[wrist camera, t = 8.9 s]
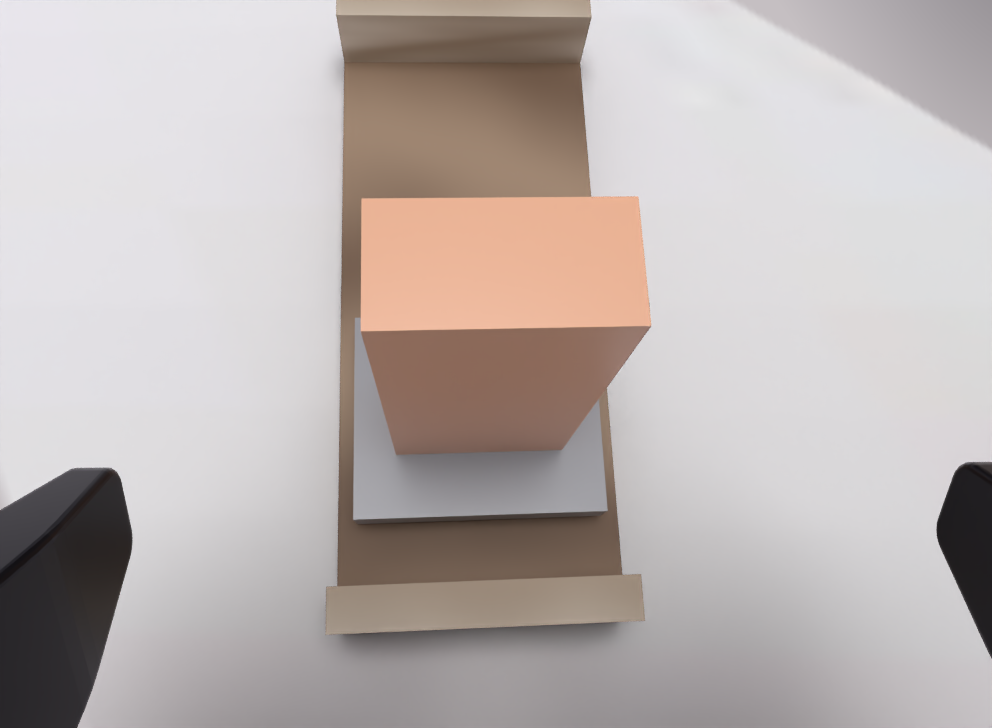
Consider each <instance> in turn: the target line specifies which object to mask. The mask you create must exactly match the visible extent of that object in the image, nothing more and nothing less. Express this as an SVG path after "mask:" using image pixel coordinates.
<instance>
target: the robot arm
mask: <svg viewBox="0 0 992 728" xmlns="http://www.w3.org/2000/svg"><path fill="white" fill-rule="evenodd" d="M936 530H937V538H938V542H939V545H940V548H941V550H942V552H943V554H944V556H945V559H946V561H947V563H948V565H949V567H950V570H951V572H952V574H953V576H954V578H955V580H956V583H957V585H958V587H959V589H960V591H961V594H962V596H963V598H964V600H965V602H966V604H967V607H968V609H969V611H970V613H971V615H972V618H973V620H974V622H975V624H976V626H977V628H978V631H979V633H980V635H981V637H982V639H983V642H984V644H985V646H986V648H987V650H988V652H989V654H990V656H991V658H992V462H967V463H964V464H962V465H961V466H959V467H958V469H957V470H956V471H955V473H954V475H953V478H952V481H951V484H950V486H949V489H948V492H947V495H946V498H945V501H944V503H943V506H942V509H941V512H940V515H939V518H938V521H937V529H936ZM131 550H132V529H131V525H130V520H129V515H128V511H127V506H126V501H125V496H124V492H123V487H122V482H121V479H120V477H119V475H118V473H117V472H116V471H115V470H113V469H112V468H74V469H71V470H69V471H67V472H65V473H64V474H62V475H60V476H58V477H57V478H55V479H53V480H51V481H50V482H48V483H46V484H45V485H43V486H41V487H39V488H38V489H36V490H34V491H32V492H31V493H29V494H27V495H26V496H24V497H22V498H20V499H19V500H17V501H15V502H13V503H12V504H10V505H8V506H7V507H5V508H3V509H1V510H0V728H77V727H78V724H79V722H80V720H81V717H82V715H83V712H84V710H85V707H86V704H87V702H88V699H89V697H90V694H91V691H92V689H93V686H94V683H95V679H96V676H97V673H98V670H99V666H100V663H101V659H102V656H103V652H104V649H105V645H106V642H107V638H108V634H109V631H110V627H111V624H112V620H113V617H114V613H115V609H116V606H117V602H118V599H119V595H120V592H121V588H122V584H123V581H124V577H125V574H126V570H127V567H128V563H129V559H130V556H131Z"/></svg>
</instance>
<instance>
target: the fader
mask: <svg viewBox="0 0 992 728" xmlns="http://www.w3.org/2000/svg"><path fill="white" fill-rule="evenodd" d="M650 327H651V318H650V308H649V298H648V288H647V278H646V268H645V258H644V248H643V239H642V229H641V219H640V209H639V199H638V197H496V198H362V200H361V318H355V367H354V485H353V520H354V521H355V522H356V523H357V524H378V523H407V522H436V521H464V520H493V519H522V518H551V517H580V516H600V515H602V514H604V513H605V512H607V511H608V509H607V497H606V484H605V471H604V459H603V446H602V433H601V421H600V408H599V398H600V396H601V395H602V394H603V392H604V391H605V390H606V388H607V387H608V385H609V384H610V383H611V381H612V380H613V378H614V377H615V376H616V374H617V373H618V371H619V370H620V369H621V367H622V366H623V365H624V363H625V362H626V360H627V359H628V358H629V356H630V355H631V353H632V352H633V351H634V349H635V348H636V346H637V345H638V344H639V342H640V341H641V340H642V338H643V337H644V335H645V334H646V333H647V331H648V330H649V328H650Z"/></svg>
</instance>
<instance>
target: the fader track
mask: <svg viewBox="0 0 992 728" xmlns="http://www.w3.org/2000/svg"><path fill="white" fill-rule="evenodd" d="M336 17H337V22H338V28H339V34H340V39H341V45H342V51H343V56H344V136H343V209H342V283H341V356H340V430H339V503H338V577H337V586H335V587H326V634H325V635H332V634H355V633H377V632H400V631H423V630H446V629H468V628H491V627H514V626H536V625H559V624H582V623H605V622H627V621H645V615H644V604H643V593H642V581H641V574H635V575H622V567H621V555H620V542H619V530H618V518H617V506H616V494H615V482H614V470H613V457H612V445H611V433H610V421H609V409H608V397H607V388H606V390H605V391H604V392H603V394H602V395H601V396H600V398H599V408H600V421H601V433H602V446H603V459H604V471H605V484H606V497H607V509H608V511H607V512H605V513H604V514H602V515H600V516H580V517H551V518H522V519H493V520H464V521H436V522H407V523H378V524H357V523H356V522H355V521H354V520H353V485H354V367H355V318H361V200H362V198H496V197H591V190H590V178H589V166H588V154H587V142H586V130H585V118H584V105H583V93H582V81H581V69H580V61H581V57H582V53H583V49H584V45H585V41H586V37H587V33H588V29H589V25H590V21H591V6H590V0H336Z"/></svg>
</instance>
